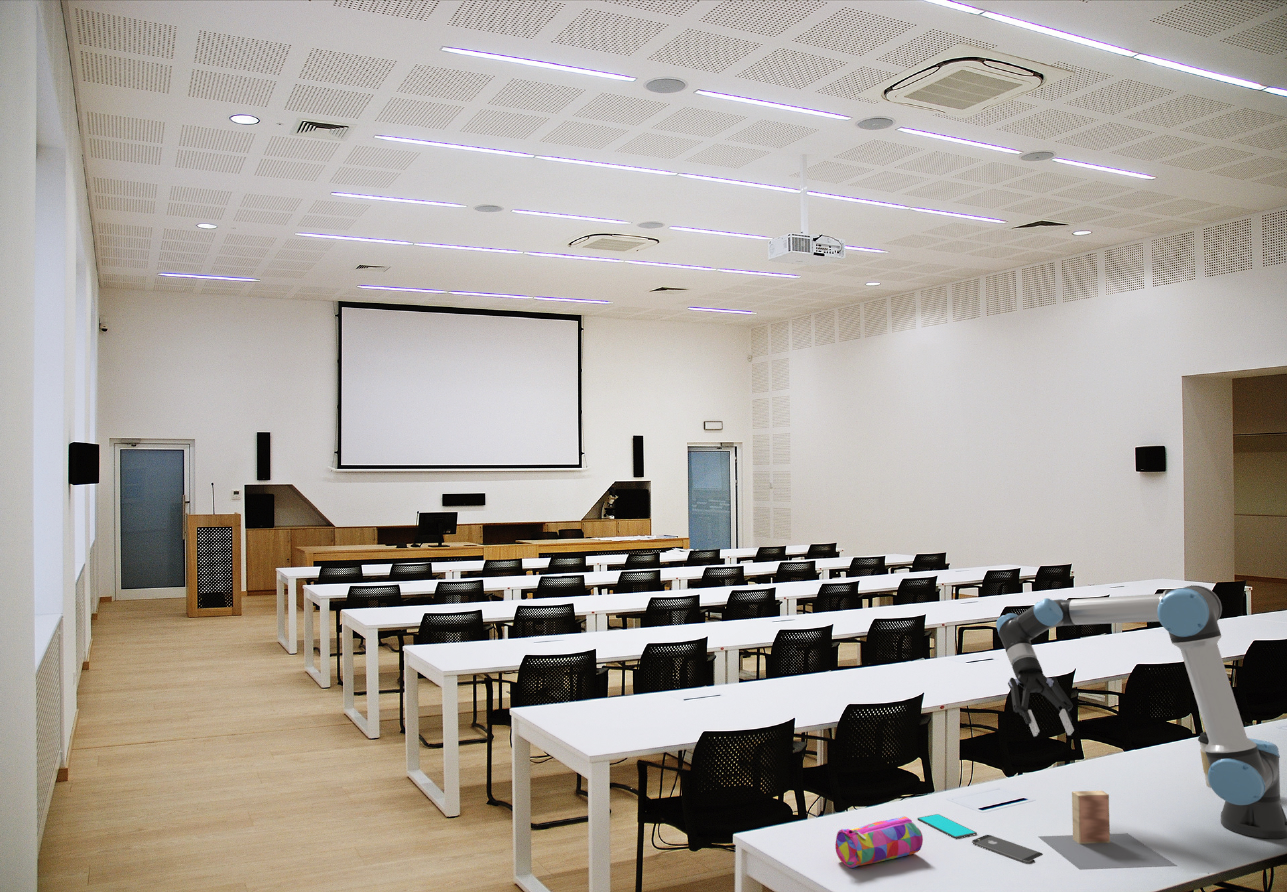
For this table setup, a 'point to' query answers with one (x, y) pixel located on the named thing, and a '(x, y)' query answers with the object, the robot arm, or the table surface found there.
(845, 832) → the pencil case
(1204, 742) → the coffee cup
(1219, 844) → the table surface
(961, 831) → the smartphone
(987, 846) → the phone
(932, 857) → the table surface
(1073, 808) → the oak block
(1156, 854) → the rubber mat
